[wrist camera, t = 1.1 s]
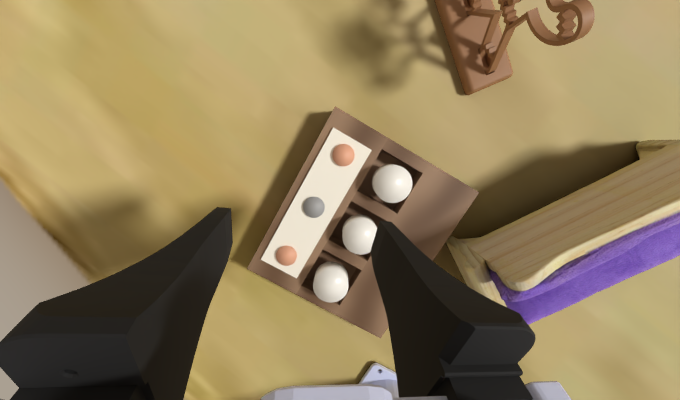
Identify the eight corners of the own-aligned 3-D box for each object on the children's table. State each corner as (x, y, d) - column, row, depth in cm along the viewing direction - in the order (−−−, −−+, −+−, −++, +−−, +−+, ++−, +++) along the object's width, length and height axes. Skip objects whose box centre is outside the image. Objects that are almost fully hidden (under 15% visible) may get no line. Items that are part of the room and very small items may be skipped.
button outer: (413, 175, 23) (419, 177, 21) (395, 205, 23) (399, 209, 21) (383, 157, 22) (387, 157, 21) (365, 188, 23) (367, 191, 21)
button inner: (354, 271, 24) (354, 280, 23) (337, 297, 25) (337, 308, 23) (325, 255, 24) (323, 263, 22) (309, 282, 24) (306, 292, 23)
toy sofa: (472, 311, 28) (546, 403, 18) (436, 240, 26) (494, 296, 16) (673, 216, 26) (886, 259, 16) (645, 135, 24) (860, 124, 14)
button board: (465, 188, 25) (479, 192, 23) (376, 321, 28) (380, 338, 25) (335, 110, 24) (334, 106, 21) (255, 257, 26) (246, 268, 24)
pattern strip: (371, 150, 22) (372, 150, 22) (297, 277, 24) (296, 279, 24) (333, 127, 22) (333, 127, 21) (261, 258, 24) (260, 260, 23)
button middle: (383, 224, 23) (386, 230, 22) (365, 253, 24) (367, 260, 22) (353, 208, 23) (354, 212, 21) (336, 236, 24) (335, 243, 22)
